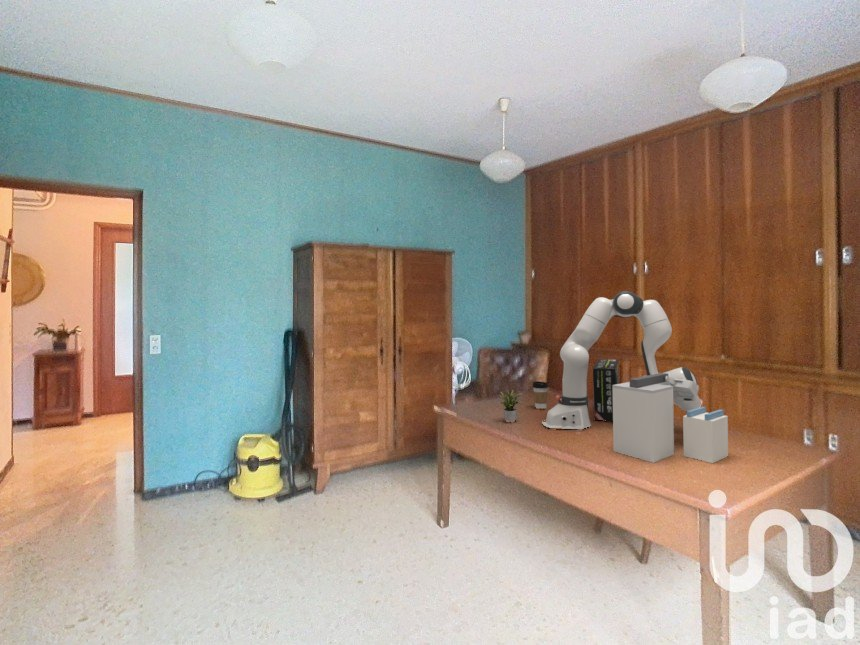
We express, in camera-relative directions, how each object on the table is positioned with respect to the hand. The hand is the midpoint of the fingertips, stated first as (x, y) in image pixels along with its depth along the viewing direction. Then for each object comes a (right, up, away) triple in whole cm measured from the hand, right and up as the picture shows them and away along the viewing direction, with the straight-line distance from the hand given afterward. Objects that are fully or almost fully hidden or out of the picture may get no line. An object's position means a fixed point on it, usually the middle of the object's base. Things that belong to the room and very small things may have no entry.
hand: (659, 376), depth 178 cm
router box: (+2, -26, +56) cm, 62 cm away
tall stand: (-9, -28, -6) cm, 30 cm away
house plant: (-50, -28, +45) cm, 73 cm away
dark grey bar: (-6, -2, -4) cm, 7 cm away
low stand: (+11, -28, -11) cm, 32 cm away
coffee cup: (-29, -27, +72) cm, 82 cm away
